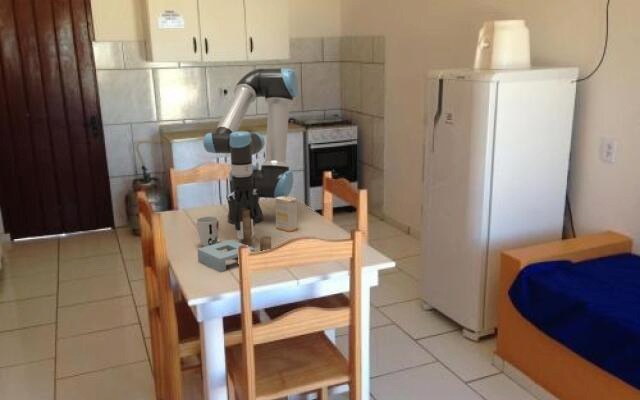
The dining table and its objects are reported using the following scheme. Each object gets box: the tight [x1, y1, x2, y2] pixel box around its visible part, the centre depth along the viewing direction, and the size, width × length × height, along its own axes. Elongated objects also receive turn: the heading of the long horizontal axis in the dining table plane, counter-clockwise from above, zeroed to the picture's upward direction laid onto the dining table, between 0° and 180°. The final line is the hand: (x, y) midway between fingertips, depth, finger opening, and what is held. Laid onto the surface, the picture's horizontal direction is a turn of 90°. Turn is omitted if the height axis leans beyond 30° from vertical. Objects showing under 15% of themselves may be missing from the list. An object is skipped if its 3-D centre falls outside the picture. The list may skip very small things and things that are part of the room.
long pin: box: [239, 208, 252, 247], centre depth 206 cm, size 4×4×14 cm
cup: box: [195, 216, 220, 247], centre depth 208 cm, size 8×8×10 cm
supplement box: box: [274, 196, 299, 233], centre depth 225 cm, size 8×5×13 cm, turn 47°
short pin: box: [259, 235, 272, 252], centre depth 198 cm, size 4×4×6 cm
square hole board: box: [196, 239, 256, 273], centre depth 192 cm, size 14×14×4 cm
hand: (245, 236), depth 207 cm, fingers closed on long pin, 4 cm apart
